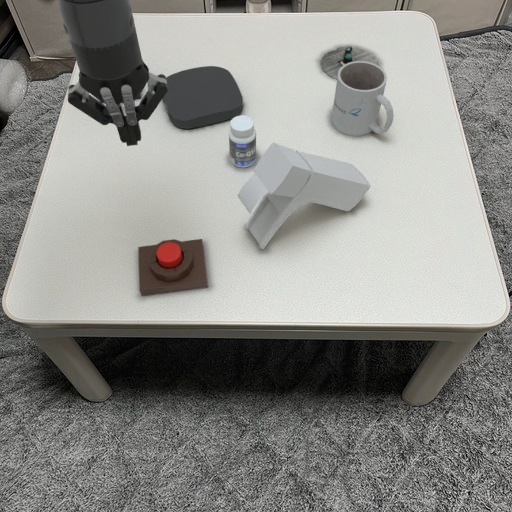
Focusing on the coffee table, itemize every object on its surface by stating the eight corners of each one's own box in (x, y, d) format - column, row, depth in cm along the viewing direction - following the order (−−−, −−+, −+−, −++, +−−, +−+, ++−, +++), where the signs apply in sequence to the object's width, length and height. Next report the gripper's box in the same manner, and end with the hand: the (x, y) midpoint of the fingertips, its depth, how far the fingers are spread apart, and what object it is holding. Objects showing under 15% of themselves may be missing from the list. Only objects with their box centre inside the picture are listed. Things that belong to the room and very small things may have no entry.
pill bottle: (236, 171, 92) (234, 135, 85) (226, 154, 94) (223, 118, 87) (260, 163, 93) (260, 127, 86) (249, 146, 95) (248, 110, 88)
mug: (322, 114, 100) (328, 70, 92) (359, 100, 102) (368, 55, 94) (359, 154, 94) (368, 110, 85) (397, 138, 96) (410, 93, 88)
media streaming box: (248, 116, 100) (248, 104, 97) (175, 134, 97) (172, 121, 95) (225, 72, 108) (225, 59, 105) (157, 87, 105) (155, 75, 103)
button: (159, 270, 76) (156, 263, 75) (157, 250, 78) (155, 243, 77) (183, 266, 77) (181, 260, 75) (181, 247, 79) (180, 240, 77)
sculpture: (312, 73, 108) (322, 33, 105) (323, 79, 116) (333, 42, 114) (367, 86, 104) (379, 45, 102) (375, 91, 112) (386, 53, 110)
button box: (141, 296, 77) (137, 284, 75) (140, 253, 82) (136, 240, 79) (207, 287, 78) (205, 274, 75) (203, 244, 83) (200, 231, 80)
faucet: (373, 185, 83) (294, 164, 68) (312, 255, 91) (230, 249, 76) (350, 161, 86) (270, 135, 72) (294, 231, 94) (211, 220, 79)
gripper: (157, 1, 61) (177, 118, 75) (42, 13, 59) (84, 129, 74) (162, 38, 56) (181, 154, 71) (38, 52, 55) (83, 167, 69)
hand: (132, 141), depth 72 cm, fingers closed
